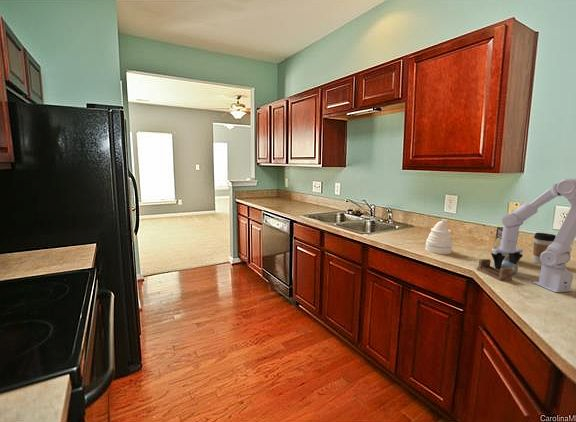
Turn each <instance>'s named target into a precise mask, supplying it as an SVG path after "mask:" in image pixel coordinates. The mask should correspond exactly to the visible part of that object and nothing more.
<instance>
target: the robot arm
mask: <svg viewBox="0 0 576 422" xmlns="http://www.w3.org/2000/svg"><path fill="white" fill-rule="evenodd" d="M562 196H563V197H564V198H565V199H566V200H567V201H568V202H569V203H570V205H571V206H570V208H569V210H568V212H567V214H566V216H565V218H564V219H563V222H562V225H561V226H560V228H559V230H558V232H557V234H556V238H555V239H554V241H553V243H551V244H550V245H549V246H548V247H547V249H546V250H545V251H544V252H542V253H541V255H540V260H541V262H542V264H541V268H540V273H539V278H538V281H532V284H535V285H537V286H539V287H542V288H544V289H547V290H549V291H551V292H554V293H565V292H572V288H571V287H572V283H573V277H574V275H573V273H572V272H571V271H570V270H568V269H567V268H566V266H567V265H566V264H567V263H568V262H570V260H571V253H572V247H571V245H572V244H573V242H574V240H575V239H576V178H563V179H560V180H559V181H558V182H557V183H554V184H553V185H552V186H551V187H549V188H548V189H547V190H546V191H544V192H542V193H541V194H540V195H539V196H537V197H536V198H535V199H534V200H532V201H530V202H529V201H527V202H521V203H520V204H519V205H520V206H518V207H517V208H516V209H512V210H511V211H510V213H505V214H504V215H503V216H502V218H501V223H502V224H503V226H502V227H503V232H502V239H501V245H500V247H499V248H496V249H494V248H492V249H491V253H490V254H491V256H492V259H493V263H495V267H494V268H496V269H498V270H499V269H500V268H501V265H502V262H503V259H504V258H505V256H503V255H502V254H503V253H508V254H509V262H511V263H513V264H516V265H518V264H517V263H519V261H520V259H522V258H523V251H524V249H523V248H520V247H517V245H516V244H518V239H517V238H519V233H518V232H520V227H521V226H522V225H523V224H524V221H526V220H527V219H529V218H530V217H532V216H534V215H535V214H537V213H538V211H539V210H538V209H539V208H540V207H542V206H544V205H546V204H547V203H549V202H550V201H552V200H553V199H555V198H557V197H562Z"/></svg>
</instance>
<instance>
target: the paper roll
mask: <svg viewBox="0 0 576 422" xmlns="http://www.w3.org/2000/svg"><path fill="white" fill-rule="evenodd" d="M492 265H493V267H494V268H495V263H494V262H493V264H492ZM501 268H512V269H513V270H512V275H515V274H517V272H518V270H519V266H518V264H513V263H511V262H508V261H506V260H503V262H502V265H501ZM498 270H500V269H498ZM512 275H511V276H512Z"/></svg>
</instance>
